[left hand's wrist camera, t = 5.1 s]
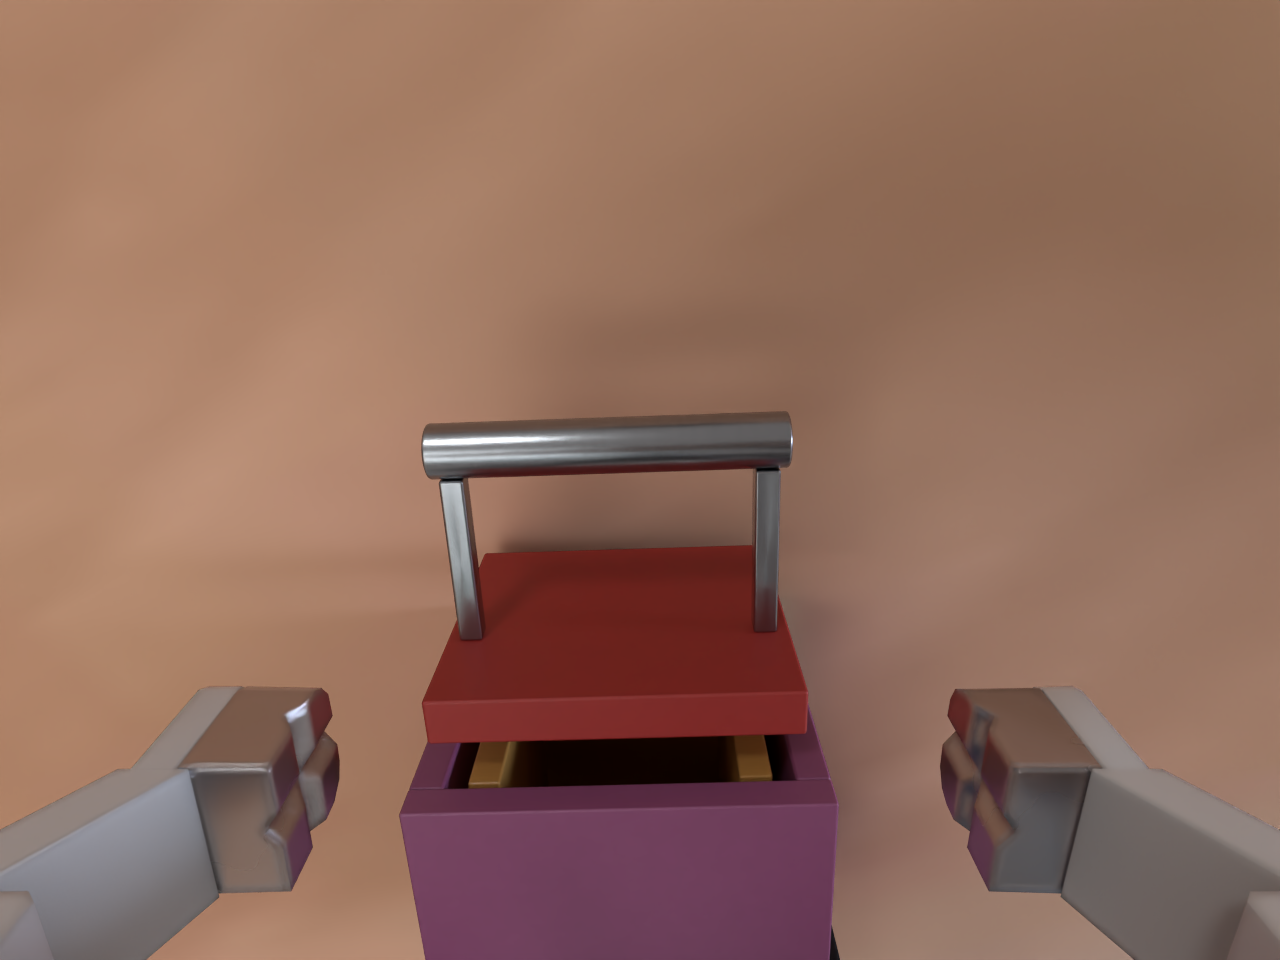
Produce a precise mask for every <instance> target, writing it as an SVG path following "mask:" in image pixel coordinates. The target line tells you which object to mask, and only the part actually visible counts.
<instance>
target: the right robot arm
mask: <svg viewBox="0 0 1280 960" xmlns="http://www.w3.org/2000/svg"><path fill="white" fill-rule="evenodd" d="M829 960H840V958H839V954H838V950H837V945H836V941H835V937H834V933H833V929H832V925H831V941H830V957H829Z"/></svg>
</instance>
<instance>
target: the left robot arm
mask: <svg viewBox="0 0 1280 960" xmlns="http://www.w3.org/2000/svg"><path fill="white" fill-rule="evenodd" d="M331 718H332V711H331V706H330V701H329V696H328V694H327V693H326V692H325V691H324V690H323V689H322V688H294V687H242V686H209V687H206V688H203V689H200V690H198V691H197V692H196V694H195V695H194V696H193V697H192V698H191V699H190V700H189V702H188V703H187V704H186V705H185V706H184V707H183V709H182V710H181V711H180V712H179V713H178V714H177V716H176V717H175V718H174V719H173V720H172V721H171V723H170V724H169V725H168V726H167V727H166V728H165V730H164V731H163V732H162V733H161V734H160V735H159V737H158V738H157V739H156V740H155V741H154V742H153V744H152V745H151V746H150V747H149V748H148V749H147V751H146V752H145V753H144V754H143V755H142V756H141V757H140V759H139V760H138V761H137V762H136V763H135V764H134V766H133V767H132V768H131V769H117V770H115V771H113V772H111V773H109V774H107V775H105V776H104V777H102V778H100V779H98V780H96V781H94V782H92V783H90V784H88V785H86V786H84V787H82V788H80V789H78V790H76V791H74V792H72V793H71V794H69V795H67V796H65V797H63V798H61V799H59V800H57V801H55V802H53V803H51V804H49V805H47V806H45V807H43V808H41V809H39V810H38V811H36V812H34V813H32V814H30V815H28V816H26V817H24V818H22V819H20V820H18V821H16V822H14V823H12V824H10V825H8V826H6V827H5V828H3V829H1V830H0V960H146V959H147V958H149V957H150V956H151V955H152V954H153V953H154V952H156V951H157V950H158V949H159V948H160V947H161V946H163V945H164V944H165V943H166V942H167V941H168V940H170V939H171V938H172V937H173V936H174V935H175V934H177V933H178V932H179V931H180V930H181V929H182V928H184V927H185V926H186V925H187V924H188V923H190V922H191V921H192V920H193V919H194V918H195V917H197V916H198V915H199V914H200V913H201V912H202V911H204V910H205V909H206V908H207V907H208V906H209V905H211V904H212V903H213V902H214V901H215V900H216V899H218V898H219V894H218V893H247V892H281V891H292V889H293V886H294V884H295V882H296V880H297V878H298V876H299V874H300V872H301V870H302V868H303V866H304V864H305V862H306V860H307V858H308V856H309V854H310V852H311V850H312V848H313V846H312V840H311V835H310V831H311V830H312V829H314V828H315V827H317V826H318V825H319V824H321V823H322V822H323V821H325V820H326V819H327V817H328V814H329V812H330V810H331V808H332V806H333V803H334V801H335V796H336V791H337V787H338V782H339V754H338V747H337V744H336V743H335V742H334V741H333V740H332V739H331V738H330V737H329V736H328V735H327V734H326V733H325V732H324V730H325V728H326V727H327V725H328V723H329V721H330V719H331ZM948 718H949V719H950V721H951V723H952V725H953V727H954V728H955V730H956V732H955V733H954V734H953V735H952V736H951V737H950V738H949V739H948V740H947V741H946V742H945V743H944V744H943V747H942V755H941V763H940V770H941V781H942V789H943V793H944V796H945V800H946V803H947V806H948V808H949V810H950V812H951V814H952V817H953V819H954V820H955V821H957V822H958V823H959V824H961V825H962V826H963V827H965V828H966V829H968V830H969V831H970V835H969V840H968V846H967V848H968V850H969V852H970V854H971V856H972V858H973V860H974V862H975V864H976V866H977V868H978V870H979V872H980V874H981V876H982V878H983V880H984V882H985V884H986V886H987V888H988V890H989V891H997V892H1032V893H1061V897H1062V898H1063V899H1064V900H1065V901H1066V902H1067V903H1069V904H1070V905H1071V906H1072V907H1073V908H1074V909H1076V910H1077V911H1078V912H1079V913H1080V914H1081V915H1083V916H1084V917H1085V918H1086V919H1087V920H1088V921H1090V922H1091V923H1092V924H1093V925H1094V926H1095V927H1097V928H1098V929H1099V930H1100V931H1101V932H1102V933H1104V934H1105V935H1106V936H1107V937H1108V938H1110V939H1111V940H1112V941H1113V942H1114V943H1115V944H1117V945H1118V946H1119V947H1120V948H1121V949H1122V950H1124V951H1125V952H1126V953H1127V954H1128V955H1129V956H1131V957H1132V958H1133V959H1134V960H1280V830H1279V829H1277V828H1275V827H1273V826H1271V825H1269V824H1267V823H1265V822H1264V821H1262V820H1260V819H1258V818H1256V817H1254V816H1252V815H1250V814H1248V813H1246V812H1244V811H1242V810H1240V809H1238V808H1236V807H1235V806H1233V805H1231V804H1229V803H1227V802H1225V801H1223V800H1221V799H1219V798H1217V797H1215V796H1213V795H1211V794H1209V793H1207V792H1205V791H1204V790H1202V789H1200V788H1198V787H1196V786H1194V785H1192V784H1190V783H1188V782H1186V781H1184V780H1182V779H1180V778H1178V777H1176V776H1175V775H1173V774H1171V773H1169V772H1167V771H1165V770H1163V769H1149V768H1148V767H1147V766H1146V765H1145V763H1144V762H1143V761H1142V760H1141V759H1140V758H1139V756H1138V755H1137V754H1136V753H1135V752H1134V751H1133V749H1132V748H1131V747H1130V746H1129V745H1128V744H1127V742H1126V741H1125V740H1124V739H1123V738H1122V737H1121V735H1120V734H1119V733H1118V732H1117V731H1116V730H1115V728H1114V727H1113V726H1112V725H1111V724H1110V723H1109V722H1108V720H1107V719H1106V718H1105V717H1104V716H1103V715H1102V713H1101V712H1100V711H1099V710H1098V709H1097V708H1096V706H1095V705H1094V704H1093V703H1092V702H1091V701H1090V699H1089V698H1088V697H1087V696H1086V695H1085V694H1084V692H1083V691H1081V690H1080V689H1078V688H1076V687H1074V686H1051V687H1033V688H997V689H955V691H954V693H953V695H952V697H951V699H950V704H949V710H948Z"/></svg>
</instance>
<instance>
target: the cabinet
mask: <svg viewBox="0 0 1280 960" xmlns="http://www.w3.org/2000/svg"><path fill="white" fill-rule="evenodd" d="M764 738H765V743H766V747H767V752H768V757H769V762H770V767H771V772H772V781H754V782H714V783H673V784H633V785H593V786H552V787H512V788H472V789H469V786H468V783H469V779H470V776H471V773H472V769H473V766H474V762H475V759H476V756H477V752H478V749H479V745H480V742H475V743H436V744H430V743H429V742H427V745H426V747H425V750H424V753H423V755H422V758H421V760H420V763H419V765H418V768H417V771H416V773H415V776H414V778H413V781H412V784H411V786H410V789H409V791H408V793H407V796H406V799H405V801H404V804H403V806H402V809H401V812H400V814H399V817H400V822H401V828H402V833H403V839H404V844H405V850H406V855H407V861H408V866H409V872H410V877H411V883H412V888H413V893H414V899H415V904H416V910H417V915H418V921H419V926H420V932H421V937H422V943H423V948H424V954H425V959H426V960H829V957H830V941H831V924H832V908H833V891H834V875H835V858H836V842H837V825H838V809H839V804H838V800H837V797H836V794H835V790H834V787H833V784H832V781H831V778H830V774H829V771H828V768H827V764H826V761H825V758H824V755H823V751H822V748H821V745H820V741H819V738H818V735H817V731H816V728H815V725H814V721H813V718H812V715H811V711H810V708H809V705H808V712H807V731H806V733H805V734H782V735H764Z"/></svg>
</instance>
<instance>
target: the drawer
mask: <svg viewBox="0 0 1280 960" xmlns="http://www.w3.org/2000/svg"><path fill="white" fill-rule="evenodd" d="M421 450H422V461H423V466H424V470H425V473H426V475H427V477H428V478H430V479H441V480H440V482H439V489H440V496H441V503H442V511H443V518H444V526H445V533H446V540H447V548H448V555H449V562H450V570H451V577H452V585H453V592H454V599H455V607H456V614H457V621H456V624H455V626H454V628H453V631H452V633H451V635H450V638H449V640H448V642H447V645H446V647H445V649H444V652H443V654H442V657H441V659H440V661H439V664H438V666H437V668H436V671H435V673H434V675H433V678H432V680H431V682H430V685H429V687H428V689H427V692H426V694H425V697H424V699H423V701H422V707H423V713H424V719H425V726H426V732H427V738H428V742H429V743H430V744H436V743H475V742H480V745H479V749H478V752H477V756H476V759H475V762H474V766H473V769H472V773H471V776H470V779H469V783H468V786H469V789H472V788H512V787H552V786H593V785H633V784H673V783H714V782H754V781H772V772H771V767H770V762H769V757H768V752H767V747H766V743H765V738H764V735H782V734H805V733H806V731H807V712H808V690H807V687H806V684H805V680H804V677H803V674H802V671H801V667H800V664H799V661H798V658H797V654H796V651H795V648H794V645H793V641H792V638H791V635H790V632H789V628H788V625H787V622H786V619H785V615H784V612H783V609H782V606H781V602H780V599H779V596H778V567H779V526H780V485H781V471H780V469H779V468H787V467H789V466H790V464H791V460H792V451H793V435H792V424H791V419H790V416H789V413H788V412H786V411H777V412H748V413H719V414H691V415H662V416H633V417H604V418H575V419H547V420H518V421H489V422H460V423H431V424H427V425H426V426H425V428H424V431H423V435H422V446H421ZM730 469H753V517H752V545H743V546H711V547H679V548H647V549H615V550H583V551H551V552H519V553H487V554H485V555H484V558H483V560H482V562H481V565H480V567H478V558H477V550H476V542H475V534H474V526H473V517H472V509H471V501H470V493H469V484H468V478H490V477H520V476H550V475H580V474H610V473H640V472H670V471H700V470H730Z"/></svg>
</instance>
